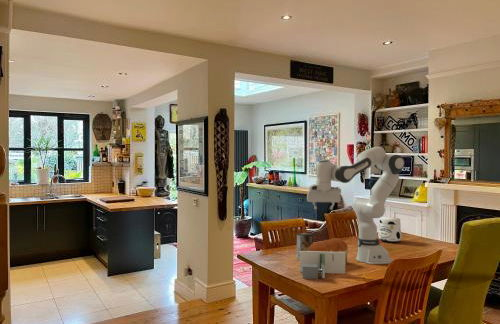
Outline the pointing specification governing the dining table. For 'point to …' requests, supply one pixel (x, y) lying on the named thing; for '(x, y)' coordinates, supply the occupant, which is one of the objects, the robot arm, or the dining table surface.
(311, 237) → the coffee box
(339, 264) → the gauge housing
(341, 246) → the bread
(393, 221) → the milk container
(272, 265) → the dining table surface
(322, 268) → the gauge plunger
